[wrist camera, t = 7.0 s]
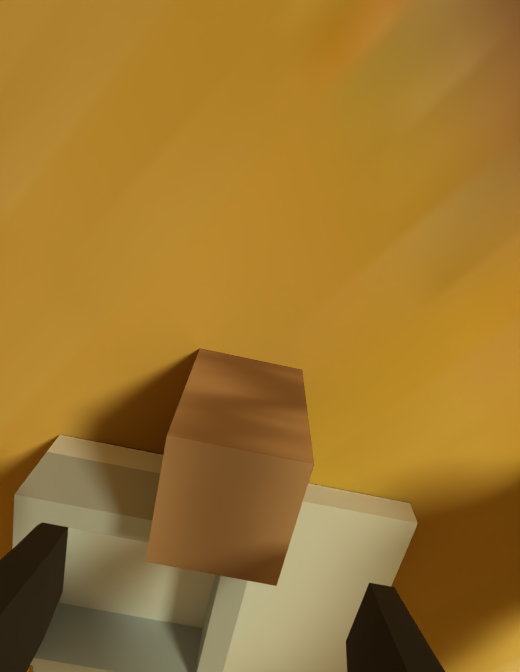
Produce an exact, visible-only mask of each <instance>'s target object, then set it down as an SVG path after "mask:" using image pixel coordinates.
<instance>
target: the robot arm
mask: <svg viewBox="0 0 520 672" xmlns="http://www.w3.org/2000/svg"><path fill="white" fill-rule="evenodd" d="M67 538H68V527H64V526H59V525H54V524H48V523H43V522H42V523H40V524H39V525H37V526H36V527H35V528H34V529H33V530H32V531H31V532H30V533H29V534H28V535H27V536H26V537H25V538H23V539H22V540H21V541H20V542H19V543H18V544H17V545H16V546H15V547H14V548H13V549H12V550H11V551H10V552H9V553H8V554H6V555H5V556H4V557H3V558H2V559H1V560H0V672H27V670H28V668H29V666H30V664H31V662H32V660H33V658H34V656H35V655H36V653H37V651H38V649H39V647H40V645H41V643H42V641H43V639H44V637H45V634H46V632H47V629H48V627H49V625H50V622H51V620H52V617H53V615H54V612H55V610H56V607H57V605H58V602H59V600H60V597H61V595H62V592H63V584H64V572H65V561H66V549H67ZM346 657H347V672H445V670H444V669H443V667H442V666H441V664H440V663H439V661H438V659H437V658H436V656H435V654H434V653H433V651H432V650H431V648H430V646H429V645H428V643H427V641H426V640H425V638H424V636H423V635H422V633H421V631H420V630H419V628H418V626H417V625H416V623H415V621H414V620H413V618H412V616H411V615H410V613H409V611H408V610H407V608H406V606H405V605H404V603H403V601H402V600H401V598H400V596H399V595H398V593H397V591H396V590H395V588H394V587H391V586H385V585H380V584H375V583H369V584H368V587H367V589H366V592H365V594H364V597H363V599H362V602H361V604H360V607H359V609H358V612H357V614H356V617H355V619H354V622H353V624H352V627H351V629H350V632H349V634H348V637H347V639H346Z"/></svg>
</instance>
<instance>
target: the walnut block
mask: <svg viewBox="0 0 520 672" xmlns="http://www.w3.org/2000/svg"><path fill="white" fill-rule="evenodd" d="M313 466H314V460H313V452H312V444H311V436H310V429H309V421H308V413H307V405H306V397H305V390H304V382H303V374H302V370H301V369H296V368H291V367H286V366H281V365H277V364H272V363H267V362H262V361H258V360H253V359H248V358H243V357H238V356H234V355H229V354H224V353H219V352H214V351H210V350H205V349H199V352H198V354H197V357H196V360H195V362H194V365H193V367H192V370H191V373H190V375H189V378H188V381H187V383H186V386H185V389H184V391H183V394H182V396H181V399H180V402H179V404H178V407H177V410H176V412H175V415H174V418H173V420H172V423H171V425H170V428H169V431H168V433H167V437H166V443H165V449H164V455H163V461H162V467H161V473H160V478H159V484H158V490H157V496H156V502H155V508H154V514H153V520H152V526H151V532H150V538H149V544H148V549H147V555H146V561H145V562H149V563H155V564H160V565H165V566H171V567H176V568H182V569H187V570H192V571H198V572H203V573H209V574H214V575H220V576H225V577H230V578H236V579H241V580H247V581H252V582H258V583H263V584H268V585H274V586H277V583H278V580H279V577H280V573H281V570H282V567H283V564H284V560H285V557H286V554H287V551H288V548H289V544H290V541H291V538H292V535H293V531H294V528H295V525H296V522H297V518H298V515H299V512H300V509H301V505H302V502H303V499H304V496H305V492H306V489H307V486H308V483H309V479H310V476H311V473H312V470H313Z"/></svg>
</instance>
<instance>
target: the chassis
mask: <svg viewBox="0 0 520 672" xmlns="http://www.w3.org/2000/svg"><path fill="white" fill-rule="evenodd" d="M162 461H163V455H161V454H156V453H151V452H146V451H141V450H136V449H131V448H126V447H121V446H115V445H110V444H105V443H100V442H95V441H90V440H85V439H80V438H75V437H69V436H64V435H59V436H58V438H57V439H56V440H55V442H54V443H53V444H52V446H51V447H50V448H49V450H48V451H47V452H46V453H45V455H44V456H43V457H42V459H41V460H40V461H39V463H38V464H37V465H36V467H35V468H34V469H33V471H32V472H31V473H30V475H29V476H28V477H27V478H26V480H25V481H24V482H23V484H22V485H21V486H20V488H19V489H18V490H17V492H16V493H15V494H14V516H13V546H12V549H13V548H14V547H15V546H16V545H17V544H18V543H19V542H20V541H21V540H22V539H23V538H25V537H26V536H27V535H28V534H29V533H30V532H31V531H32V530H33V529H34V528H35V527H36V526H37V525H39V524H40V523H42V522H43V523H48V524H54V525H59V526H64V527H68V538H67V549H66V561H65V572H64V584H63V592H62V595H61V597H60V600H59V602H58V605H57V607H56V610H55V612H54V615H53V617H52V620H51V622H50V625H49V627H48V629H47V632H46V634H45V637H44V639H43V641H42V643H41V645H40V647H39V649H38V651H37V653H36V655H35V656H34V658H33V660H32V662H31V664H30V666H33V672H347V657H346V639H347V637H348V634H349V632H350V629H351V627H352V624H353V622H354V619H355V617H356V614H357V612H358V609H359V607H360V604H361V602H362V599H363V597H364V594H365V592H366V589H367V587H368V584H369V583H375V584H380V585H385V586H392V583H393V581H394V579H395V576H396V574H397V572H398V569H399V567H400V564H401V562H402V560H403V557H404V555H405V553H406V550H407V548H408V546H409V543H410V541H411V539H412V536H413V534H414V532H415V529H416V527H417V524H418V523H417V520H416V517H415V515H414V512H413V510H412V507H411V504H410V503H406V502H401V501H396V500H391V499H386V498H381V497H376V496H371V495H366V494H360V493H355V492H350V491H345V490H340V489H335V488H330V487H325V486H320V485H315V484H309V483H308V486H307V489H306V492H305V496H304V499H303V502H302V505H301V509H300V512H299V515H298V518H297V522H296V525H295V528H294V531H293V535H292V538H291V541H290V544H289V548H288V551H287V554H286V557H285V560H284V564H283V567H282V570H281V573H280V577H279V580H278V583H277V586H274V585H268V584H263V583H258V582H252V581H247V580H241V579H236V578H230V577H225V576H220V575H214V574H209V573H203V572H198V571H192V570H187V569H182V568H176V567H171V566H165V565H160V564H155V563H149V562H145V561H146V555H147V549H148V544H149V538H150V532H151V526H152V520H153V514H154V508H155V502H156V496H157V490H158V484H159V478H160V473H161V467H162Z"/></svg>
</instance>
